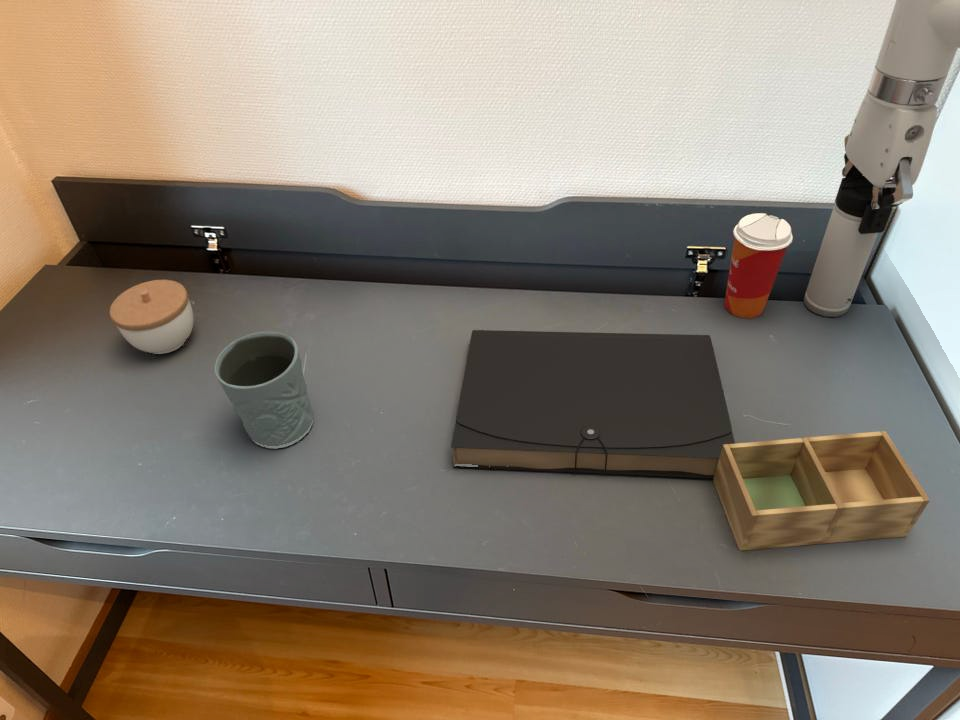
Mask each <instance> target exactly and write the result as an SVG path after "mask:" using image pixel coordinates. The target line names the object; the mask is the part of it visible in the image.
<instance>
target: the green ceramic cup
mask: <svg viewBox="0 0 960 720" xmlns="http://www.w3.org/2000/svg"><path fill="white" fill-rule="evenodd" d="M302 366H303V365H302V360H301V356H300V351H299V347H298V344H297V343H296V341H295V340H294V339H293V338H292V337H291V336H289V335H288V334H285V333H282V332H278V331H259V332H254V333H249V334H246V335H245V336H242V337H239V338H237V339H235V340H234V341H232V342H231V343H229V344H228V345H227V346H225V348H223V349H222V351H221V352H220V353H219V355H218V356H217V357H216V361H215V364H214V367H213V369H214V375H215V377H216V379H217V381H218V383H219V384H220V387H222V389H223V391H224V393H225V394H226V396H227V398H228V400H229V402H230V403H231V404H232V405H233V406H234V409H235V411H236V413H237V414H238V416H239V418H240V420H241V422H242V425H243V427H244V429H245V431H246V433H247V435H248V436H249V438H250V437H251V438H250V440H251V439H252V440H254V441H255V442H257V443H259V444H262V445H267V446H279V445H283V444H287V443H290V442H292V441H294V440H296V439H298V438H299V437H300V436H302V435H303V434H304V433H305V432H306V431H307V430H308V428H309V427H310V425H311V423H312V420H313V414H314V410H313V406H312V402H311V400H310V396H309V394H308V393H309V392H308V389H307V388H308V387H307V384H306V380H305V377H304V376H305V375H304V373H303V367H302ZM252 440H251V441H252Z"/></svg>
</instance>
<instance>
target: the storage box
mask: <svg viewBox="0 0 960 720" xmlns="http://www.w3.org/2000/svg"><path fill="white" fill-rule="evenodd" d="M712 479H713V480H712V482H713V485H714V487H715V489H716V492H717V495H718V498H719V499H720V503H721V506H722V509H723V511H724V514H725V516H726V519H727V522H728V524H729V527H730V529H731V532H732V535H733V538H734V540H735V543H736V546H737V548H738V551H739V552H741V551H753V550H766V549H777V548H788V547H789V548H790V547H799V546H800V547H801V546H810V545H823V544H835V543H847V542H857V541H858V542H859V541H871V540H880V539H881V540H882V539H893V538H894V539H895V538H905V537H908V536H909V534H910V533H911V531H912V529H913V527H914V526H915V525H916V523H917V521H918V520H919V518H920V517H921V515H922V514H923V512H924V511H925V509H926V507H927V506H928V504H929V503H930V501H931V500H930V497H929V496H928V495H927V493H926V492H925V490H924V489H923V487H922V485H921V484H920V482H919V481H918V479H917V478H916V476H915V474H914V473H913V472H912V470H911V469H910V467H909V465H908V463H907V462H906V461H905V459H904V458H903V456H902V454H901V453H900V451H899V450H898V447H896V445H895V443H894V441H892V439H891V437H890V436H889V434H888V433H887V431H886V430H881V431H878V430H877V431H868V432H857V433H856V432H855V433H844V434H843V433H842V434H832V435H822V436H821V435H820V436H808V437H797V438H795V437H794V438H784V439H773V440H772V439H771V440H761V441H750V442H738V443H736V442H735V444H723V447H722V450H721V454H720V457H719V461H718V465H717V468H716V472H715V475H714V478H712Z"/></svg>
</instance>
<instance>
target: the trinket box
mask: <svg viewBox="0 0 960 720" xmlns="http://www.w3.org/2000/svg"><path fill="white" fill-rule="evenodd" d="M109 316H110V319H111V321H112V322H113V324H114V326H115V327H116V328H117V330H118V331H119V333H120V334H121V336H122V337H123V339H125V341H127V343H129V345H131V346H132V347H134V348H135V349H137V350H139V351H141V352H144V353H148V352H149V354H151V353H158V352H164V351H168V350H171V349H173V348H175V347H177V346H179V345H180V344H182V343H183V342H184V341H185V340H186V339H187V338H188V339H189V337H190V335H191V334H192V331H193V328H194V323H195V322H194V321H195V317H194V310H193V307H192V303H191V301H190V299H189V294H188V291H187V289H186V288H185V286H184V285H182V284H181V283H180V282H178V281H175V280H171V279H154V280H149V281H145V282H141V283H139V284H136V285H134V286H132V287H129V288H128V289H126V290H125V291H122V292H121V293H120V294H119V295H118V296H117V297H116V298H115V299H114V301H112V304H111V305H110V307H109ZM188 339H187V340H188Z"/></svg>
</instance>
